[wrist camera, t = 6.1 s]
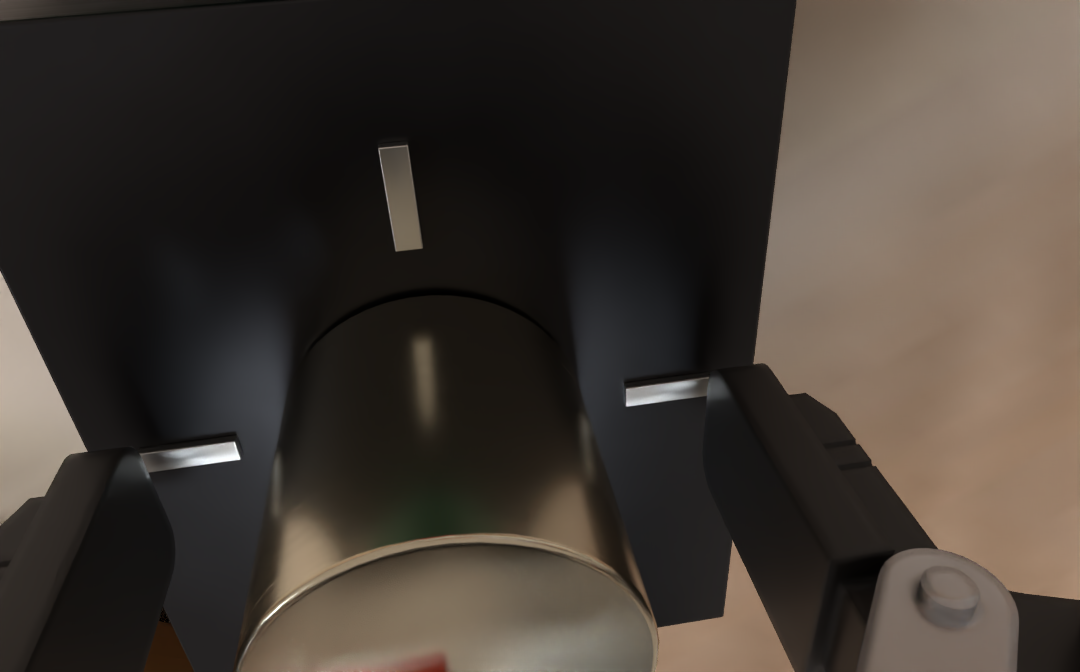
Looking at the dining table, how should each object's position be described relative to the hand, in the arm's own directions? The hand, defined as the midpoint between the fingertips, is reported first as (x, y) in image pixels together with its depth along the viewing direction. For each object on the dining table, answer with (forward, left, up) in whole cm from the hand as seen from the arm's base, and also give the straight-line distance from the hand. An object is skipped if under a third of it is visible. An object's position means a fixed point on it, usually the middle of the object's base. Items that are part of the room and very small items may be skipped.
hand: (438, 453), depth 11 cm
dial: (0, 0, -1) cm, 1 cm away
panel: (0, 0, -4) cm, 4 cm away
